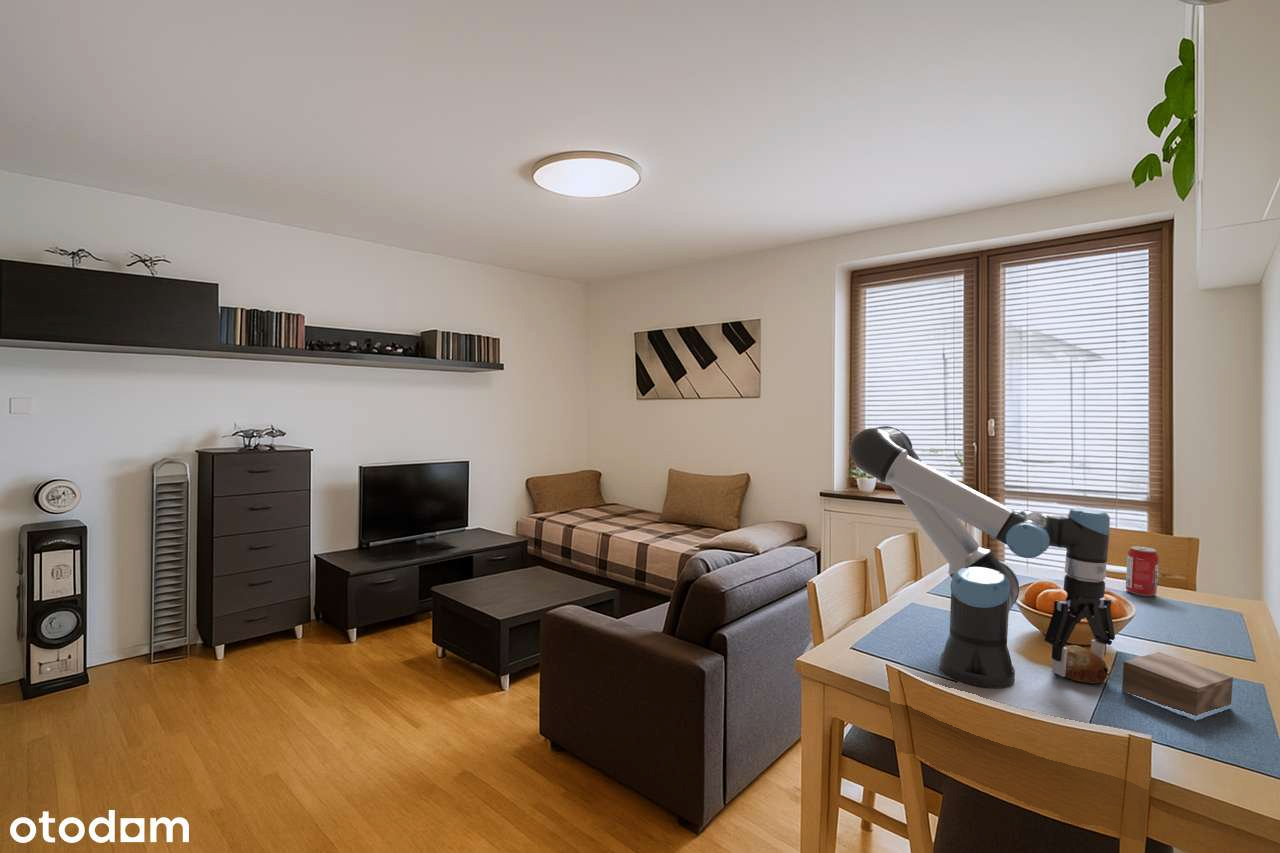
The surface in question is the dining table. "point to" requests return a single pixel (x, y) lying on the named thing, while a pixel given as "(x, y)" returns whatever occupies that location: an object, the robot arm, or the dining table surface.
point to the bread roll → (1084, 665)
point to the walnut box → (1176, 683)
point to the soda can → (1142, 571)
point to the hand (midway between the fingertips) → (1077, 671)
